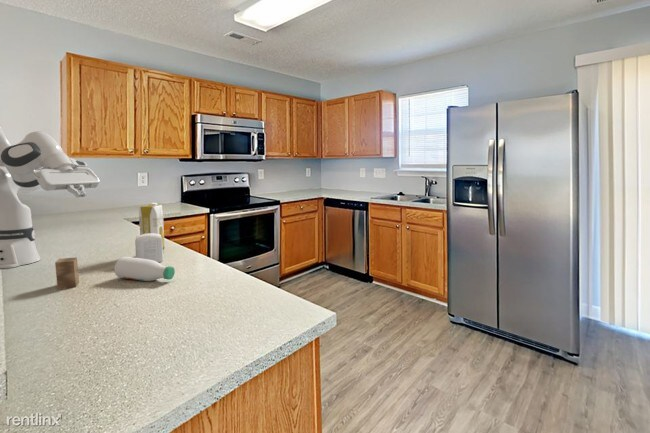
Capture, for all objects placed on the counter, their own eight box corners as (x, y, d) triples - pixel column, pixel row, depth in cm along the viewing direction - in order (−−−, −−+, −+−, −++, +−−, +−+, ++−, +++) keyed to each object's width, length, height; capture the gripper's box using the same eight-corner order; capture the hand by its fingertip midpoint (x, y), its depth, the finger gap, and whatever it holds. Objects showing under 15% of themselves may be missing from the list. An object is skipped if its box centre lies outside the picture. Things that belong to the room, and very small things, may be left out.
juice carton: (157, 258, 153) (154, 204, 150) (139, 258, 153) (135, 203, 150) (166, 253, 163) (164, 202, 159) (149, 252, 163) (147, 201, 159)
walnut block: (57, 289, 115) (55, 262, 114) (61, 284, 120) (59, 258, 118) (75, 287, 117) (73, 261, 116) (79, 282, 122) (76, 257, 120)
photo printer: (162, 259, 152) (161, 231, 150) (164, 261, 149) (162, 233, 147) (135, 262, 147) (133, 233, 145) (136, 265, 143) (135, 235, 141)
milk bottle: (110, 273, 122) (161, 279, 119) (119, 253, 126) (170, 258, 122) (123, 280, 129) (172, 287, 125) (132, 261, 132) (180, 267, 129)
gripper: (33, 161, 119) (56, 192, 118) (90, 162, 139) (110, 188, 137) (25, 174, 121) (48, 204, 120) (82, 173, 141) (102, 199, 139)
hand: (81, 196), depth 129 cm, fingers closed
